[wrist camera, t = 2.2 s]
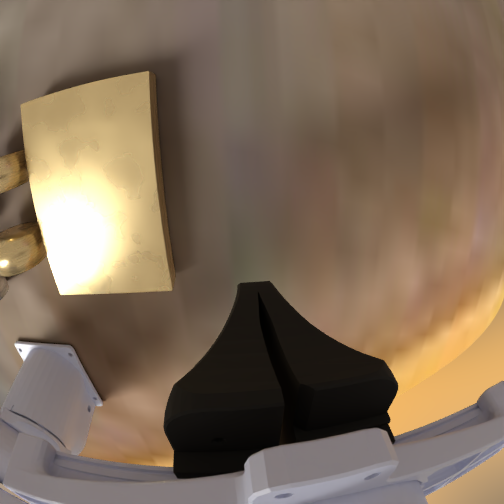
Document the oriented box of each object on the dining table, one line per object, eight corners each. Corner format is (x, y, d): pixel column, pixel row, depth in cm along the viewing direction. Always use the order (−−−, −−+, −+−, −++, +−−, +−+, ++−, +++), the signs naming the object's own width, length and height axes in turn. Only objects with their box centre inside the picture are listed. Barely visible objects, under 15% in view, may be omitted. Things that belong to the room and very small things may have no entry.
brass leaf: (175, 275, 22) (168, 312, 18) (27, 282, 21) (3, 312, 17) (155, 74, 16) (138, 65, 12) (-9, 120, 14) (-45, 128, 10)
